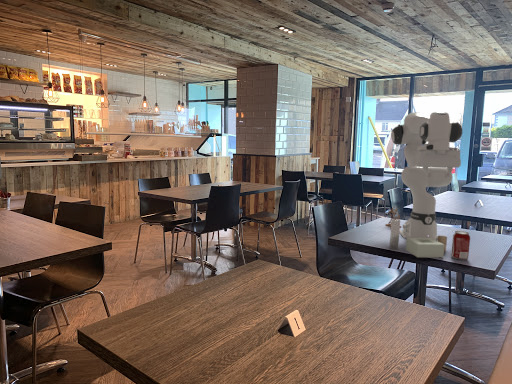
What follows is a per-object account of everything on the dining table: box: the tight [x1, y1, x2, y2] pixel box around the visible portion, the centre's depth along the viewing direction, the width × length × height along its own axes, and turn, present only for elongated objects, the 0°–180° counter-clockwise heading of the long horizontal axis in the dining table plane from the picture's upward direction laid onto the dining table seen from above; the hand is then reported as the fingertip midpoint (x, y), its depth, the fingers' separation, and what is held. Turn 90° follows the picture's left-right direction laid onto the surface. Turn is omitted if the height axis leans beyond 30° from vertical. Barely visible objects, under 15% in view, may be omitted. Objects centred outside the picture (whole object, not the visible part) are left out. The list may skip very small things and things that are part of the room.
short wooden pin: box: [436, 235, 448, 253], centre depth 187 cm, size 4×4×7 cm
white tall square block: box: [389, 218, 401, 251], centre depth 189 cm, size 4×4×14 cm
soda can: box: [450, 230, 471, 261], centre depth 175 cm, size 7×7×12 cm
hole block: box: [405, 238, 445, 258], centre depth 182 cm, size 12×12×6 cm
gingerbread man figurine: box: [385, 206, 402, 229], centre depth 238 cm, size 9×4×12 cm, turn 35°
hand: (437, 177), depth 181 cm, fingers open, 8 cm apart
